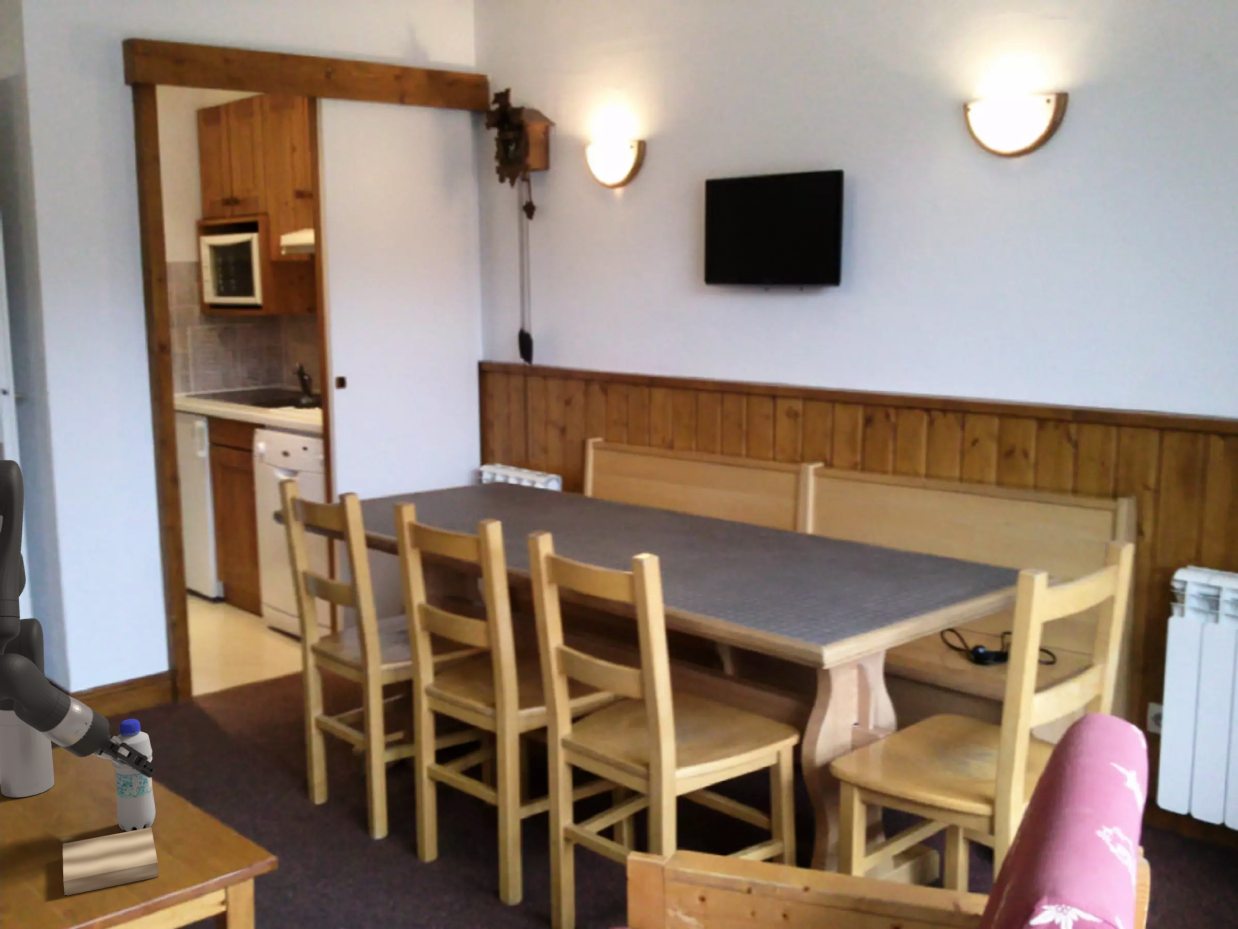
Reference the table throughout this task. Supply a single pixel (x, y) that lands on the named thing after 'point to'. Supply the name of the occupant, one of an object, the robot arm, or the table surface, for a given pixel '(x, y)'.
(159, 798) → the table surface
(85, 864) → the birch stand
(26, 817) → the table surface
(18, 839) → the table surface
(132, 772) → the bottle
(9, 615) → the robot arm
